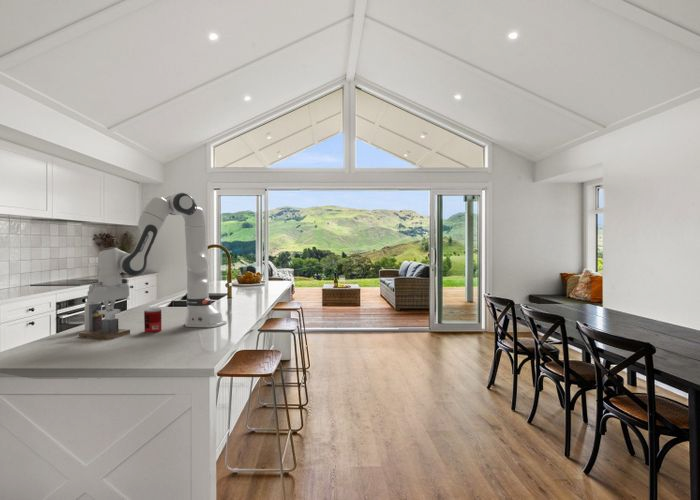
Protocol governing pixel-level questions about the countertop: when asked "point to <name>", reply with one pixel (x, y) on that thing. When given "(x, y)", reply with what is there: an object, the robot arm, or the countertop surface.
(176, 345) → the countertop surface
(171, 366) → the countertop surface
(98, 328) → the stand
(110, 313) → the plunger
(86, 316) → the milk bottle
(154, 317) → the canned food
